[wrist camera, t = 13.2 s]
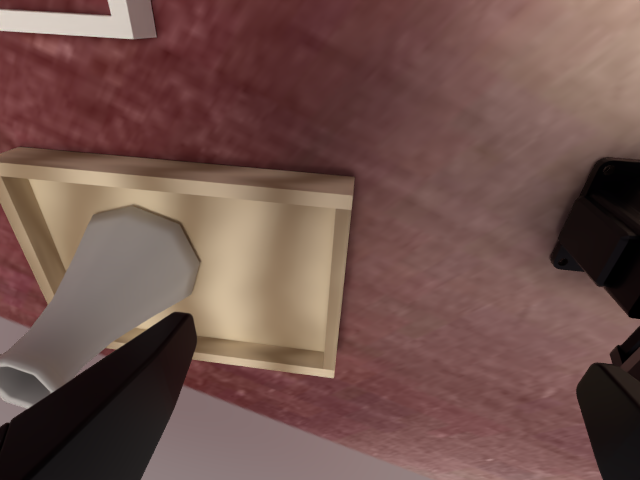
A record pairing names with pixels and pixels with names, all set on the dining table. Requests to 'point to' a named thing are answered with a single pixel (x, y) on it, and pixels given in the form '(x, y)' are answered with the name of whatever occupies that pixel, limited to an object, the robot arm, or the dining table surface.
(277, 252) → the serving tray
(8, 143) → the dining table surface
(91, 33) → the white square frame
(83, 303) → the flask
